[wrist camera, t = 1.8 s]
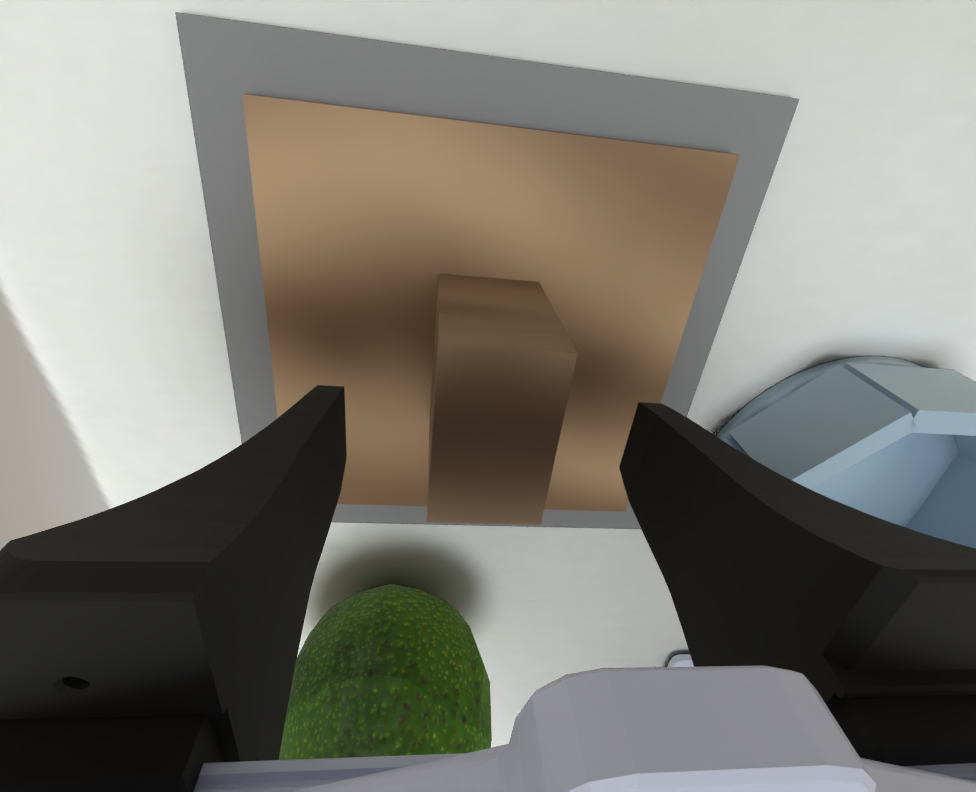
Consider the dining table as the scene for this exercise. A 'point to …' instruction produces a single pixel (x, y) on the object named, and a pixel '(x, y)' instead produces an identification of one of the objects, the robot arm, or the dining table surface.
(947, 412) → the bowl
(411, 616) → the avocado
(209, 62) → the mat
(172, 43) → the dining table surface
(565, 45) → the dining table surface
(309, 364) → the cover board
